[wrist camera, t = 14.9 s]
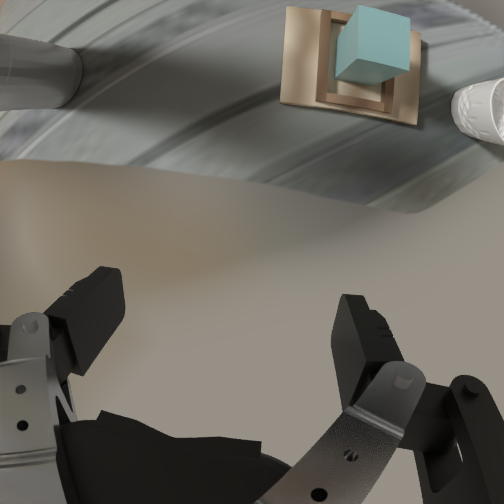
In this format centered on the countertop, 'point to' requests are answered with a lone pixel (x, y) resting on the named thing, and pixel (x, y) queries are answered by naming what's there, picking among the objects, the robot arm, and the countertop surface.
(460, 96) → the white cup
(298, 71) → the tan flat rimmed tray
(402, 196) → the countertop surface
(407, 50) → the pale teal block
